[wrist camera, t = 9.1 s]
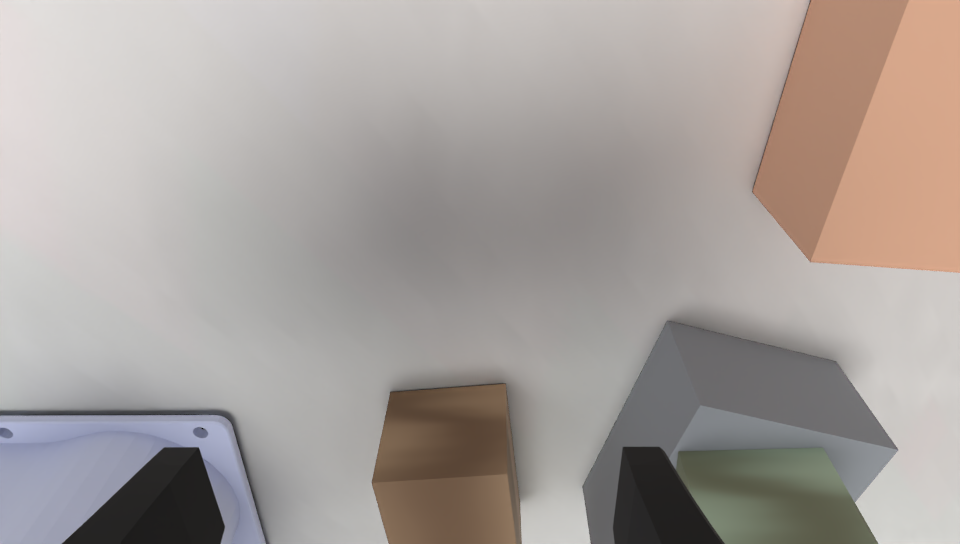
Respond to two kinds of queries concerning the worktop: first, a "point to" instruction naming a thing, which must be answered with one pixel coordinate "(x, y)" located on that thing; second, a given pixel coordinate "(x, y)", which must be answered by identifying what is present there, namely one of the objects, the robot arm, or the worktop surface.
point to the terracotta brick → (870, 136)
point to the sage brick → (773, 496)
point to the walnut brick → (448, 468)
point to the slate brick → (736, 412)
